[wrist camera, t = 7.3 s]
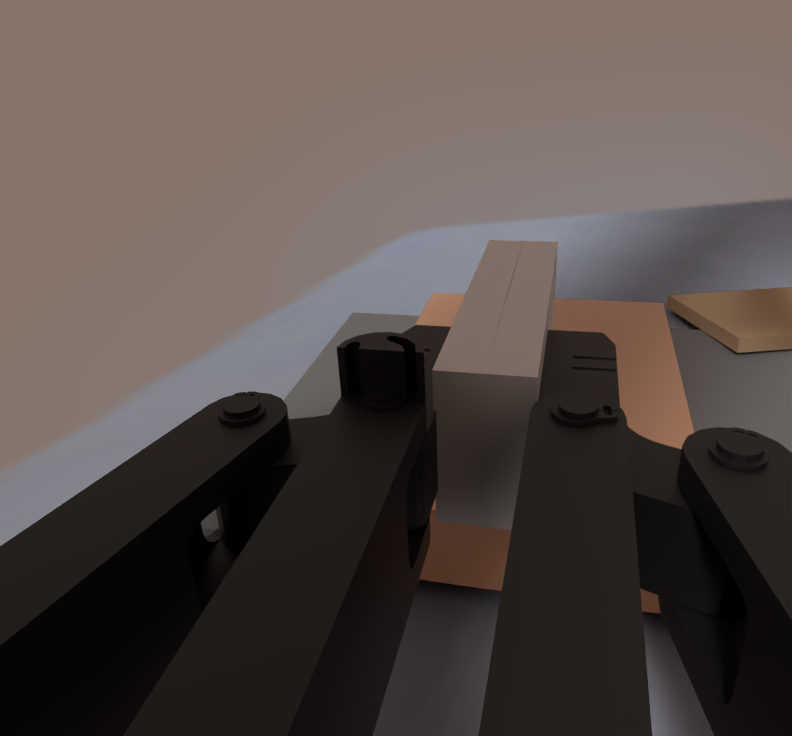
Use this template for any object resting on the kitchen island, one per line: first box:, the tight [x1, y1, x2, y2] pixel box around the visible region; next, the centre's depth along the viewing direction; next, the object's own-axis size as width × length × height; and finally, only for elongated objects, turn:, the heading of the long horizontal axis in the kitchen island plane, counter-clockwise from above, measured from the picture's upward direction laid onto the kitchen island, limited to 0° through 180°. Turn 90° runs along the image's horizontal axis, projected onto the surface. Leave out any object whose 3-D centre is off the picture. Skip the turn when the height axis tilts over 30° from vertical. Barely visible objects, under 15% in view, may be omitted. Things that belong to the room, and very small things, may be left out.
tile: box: [415, 293, 694, 614], centre depth 22 cm, size 9×2×14 cm
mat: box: [201, 313, 792, 537], centre depth 24 cm, size 20×16×1 cm
